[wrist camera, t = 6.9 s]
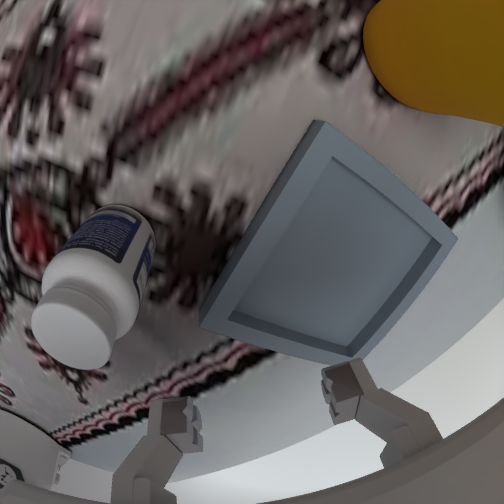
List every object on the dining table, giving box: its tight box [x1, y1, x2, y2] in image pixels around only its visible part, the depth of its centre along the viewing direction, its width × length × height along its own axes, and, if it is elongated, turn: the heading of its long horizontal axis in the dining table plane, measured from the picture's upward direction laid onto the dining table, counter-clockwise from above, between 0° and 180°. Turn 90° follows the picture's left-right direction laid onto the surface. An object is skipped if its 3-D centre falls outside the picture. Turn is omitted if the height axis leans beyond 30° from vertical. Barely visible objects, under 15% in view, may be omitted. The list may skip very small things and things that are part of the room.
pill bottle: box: [31, 205, 156, 370], centre depth 14 cm, size 5×5×10 cm
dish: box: [199, 120, 458, 366], centre depth 21 cm, size 16×16×2 cm
